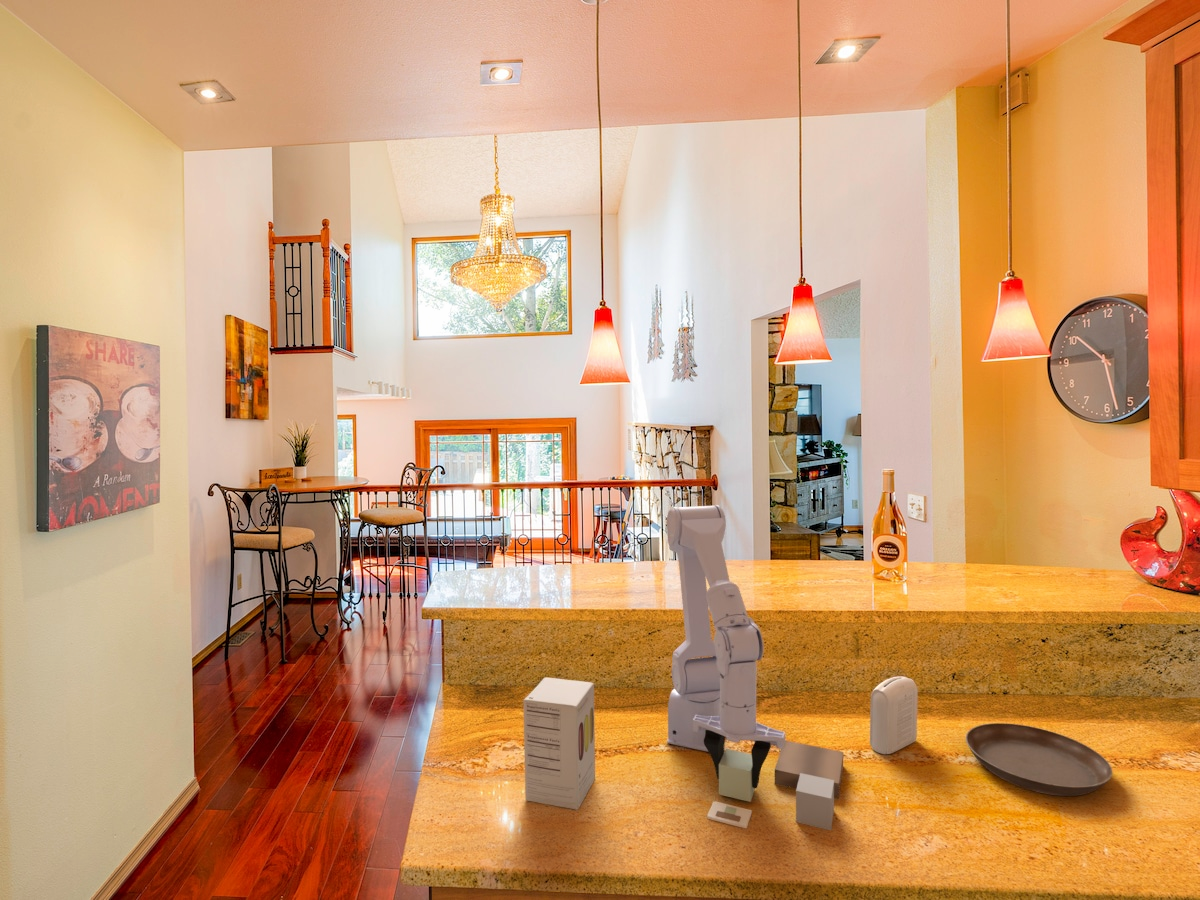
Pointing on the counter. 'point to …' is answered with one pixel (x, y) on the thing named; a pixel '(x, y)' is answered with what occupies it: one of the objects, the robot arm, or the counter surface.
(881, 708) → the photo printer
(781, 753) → the walnut slab
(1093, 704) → the counter surface
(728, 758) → the sage cube
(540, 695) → the supplement box
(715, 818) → the card
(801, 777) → the grey cube
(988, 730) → the plant saucer
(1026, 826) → the counter surface
